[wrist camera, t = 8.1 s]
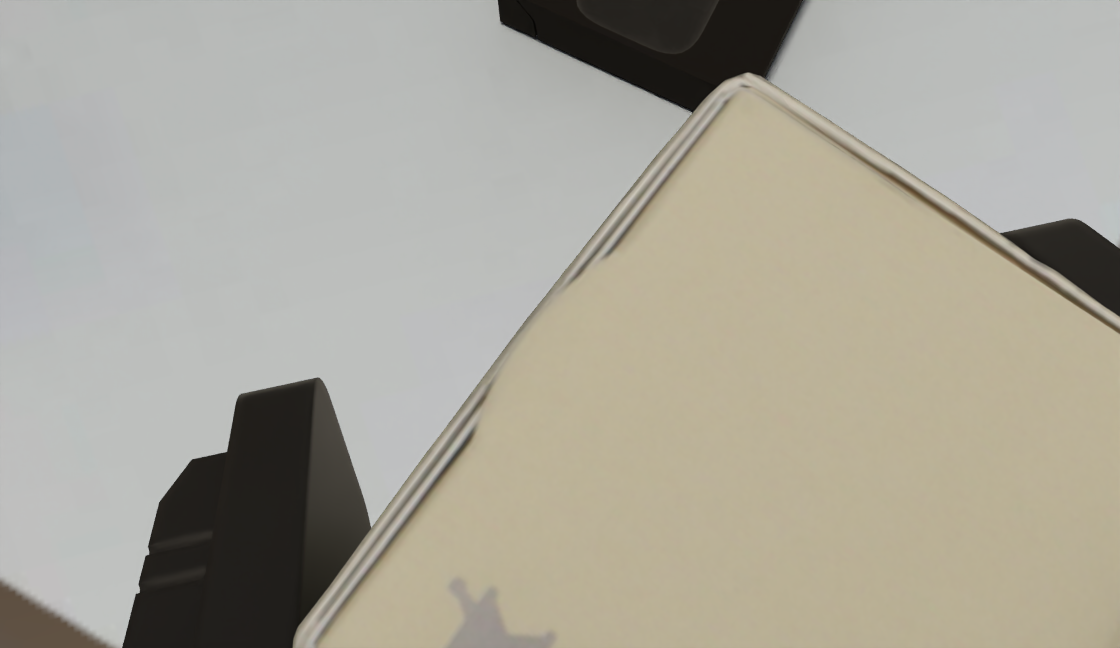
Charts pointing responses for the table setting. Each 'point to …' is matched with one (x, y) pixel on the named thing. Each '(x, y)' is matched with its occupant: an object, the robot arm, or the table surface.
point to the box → (768, 428)
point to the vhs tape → (662, 38)
